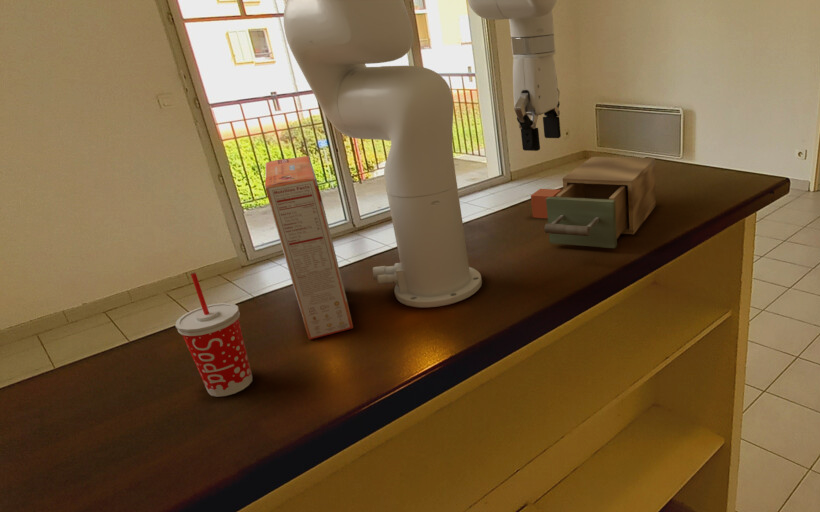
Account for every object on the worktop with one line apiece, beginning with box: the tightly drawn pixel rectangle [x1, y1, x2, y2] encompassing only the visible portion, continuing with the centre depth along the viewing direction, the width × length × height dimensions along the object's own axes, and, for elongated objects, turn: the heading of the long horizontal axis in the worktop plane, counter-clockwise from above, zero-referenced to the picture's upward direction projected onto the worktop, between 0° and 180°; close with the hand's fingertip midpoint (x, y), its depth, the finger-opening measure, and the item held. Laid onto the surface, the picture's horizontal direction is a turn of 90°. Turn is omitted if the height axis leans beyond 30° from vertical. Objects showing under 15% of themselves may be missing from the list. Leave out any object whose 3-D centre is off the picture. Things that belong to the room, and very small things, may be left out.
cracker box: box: [264, 155, 354, 340], centre depth 81 cm, size 14×6×21 cm, turn 25°
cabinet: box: [562, 156, 657, 235], centre depth 113 cm, size 16×13×10 cm
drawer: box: [544, 183, 629, 249], centre depth 102 cm, size 21×11×8 cm, turn 159°
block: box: [530, 188, 562, 220], centre depth 118 cm, size 4×4×4 cm
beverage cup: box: [174, 272, 253, 398], centre depth 67 cm, size 6×6×14 cm
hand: (542, 143), depth 113 cm, fingers open, 9 cm apart
